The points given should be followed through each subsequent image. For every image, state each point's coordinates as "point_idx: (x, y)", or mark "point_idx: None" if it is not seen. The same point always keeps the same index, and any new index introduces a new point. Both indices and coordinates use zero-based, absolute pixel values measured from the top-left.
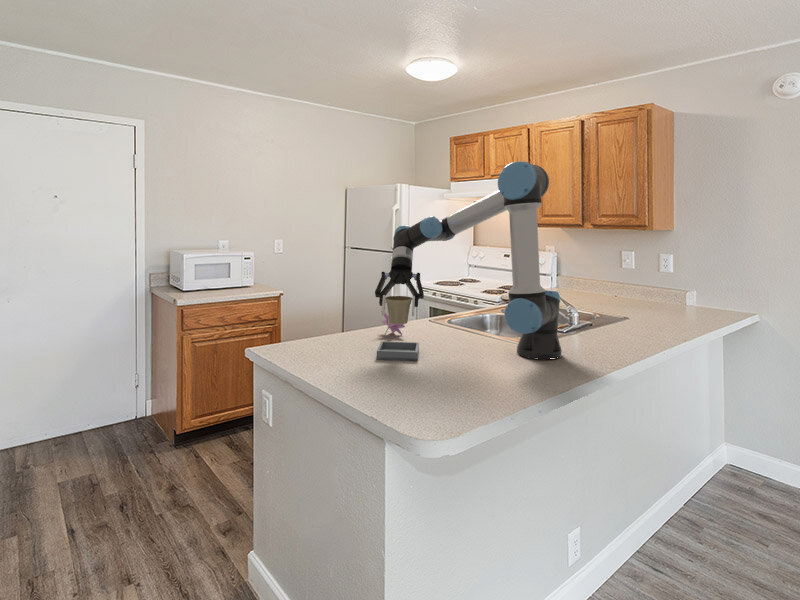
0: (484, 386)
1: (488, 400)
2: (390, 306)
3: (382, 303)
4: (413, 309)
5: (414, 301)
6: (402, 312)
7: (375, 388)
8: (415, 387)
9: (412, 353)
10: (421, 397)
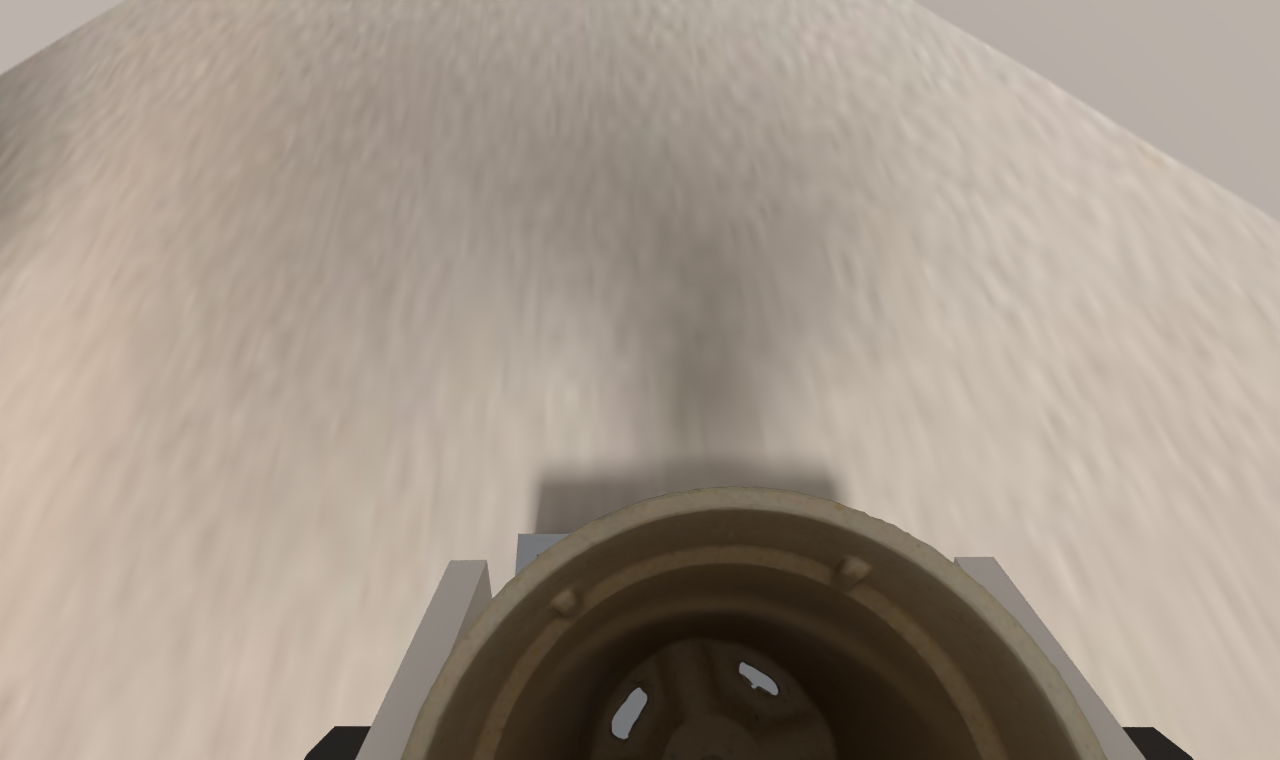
0: (228, 147)
1: (270, 15)
2: (872, 618)
3: (1075, 672)
4: (447, 589)
5: (367, 739)
6: (641, 613)
7: (733, 65)
8: (553, 97)
9: (561, 534)
10: (530, 7)
